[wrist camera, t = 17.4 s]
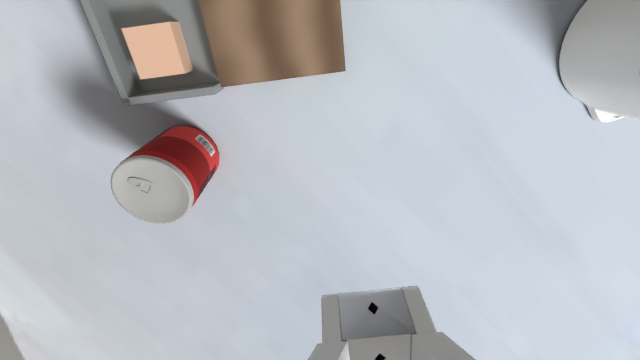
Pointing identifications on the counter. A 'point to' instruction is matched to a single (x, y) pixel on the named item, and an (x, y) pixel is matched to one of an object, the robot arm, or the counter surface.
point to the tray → (106, 21)
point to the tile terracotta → (158, 49)
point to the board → (273, 38)
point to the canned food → (166, 175)
